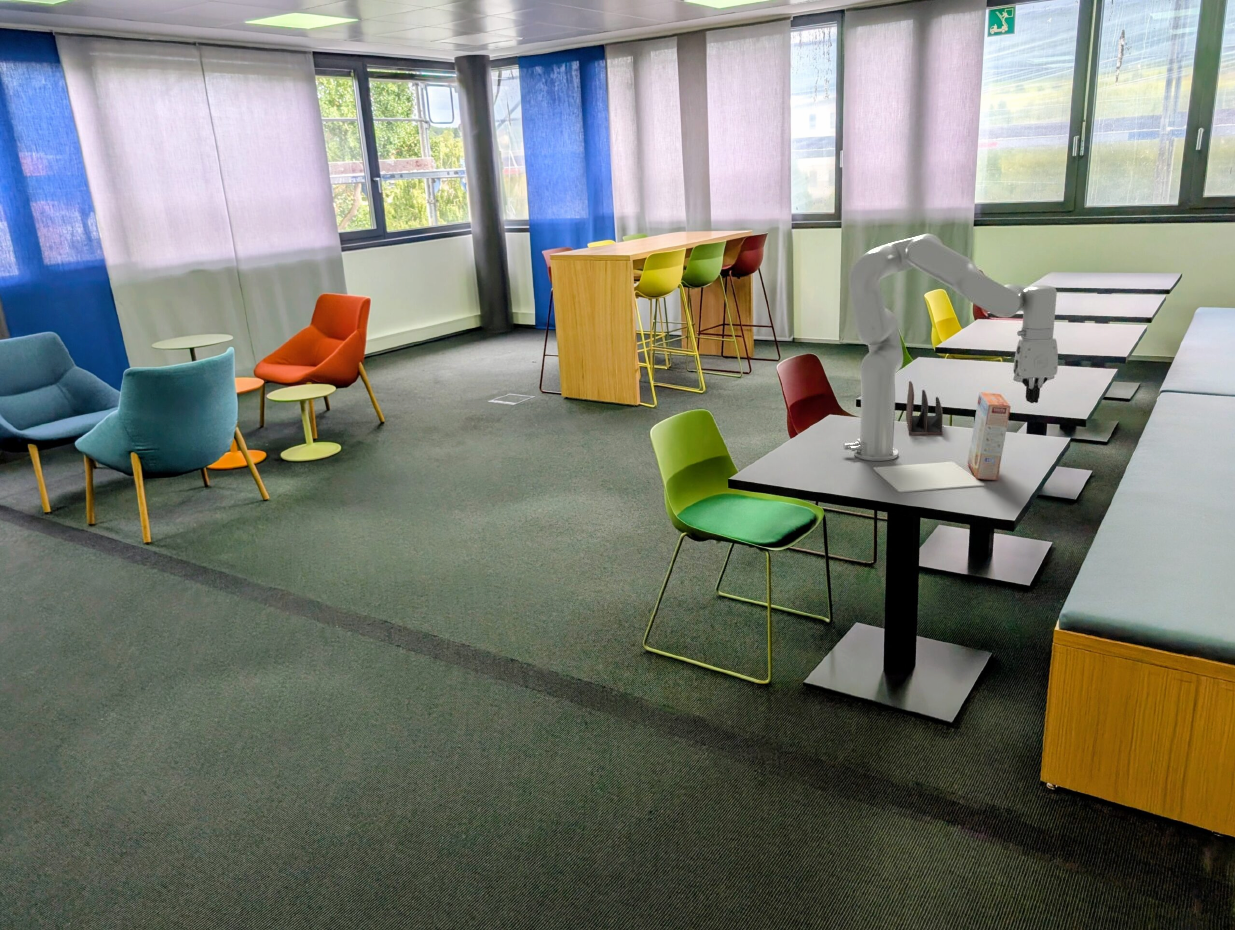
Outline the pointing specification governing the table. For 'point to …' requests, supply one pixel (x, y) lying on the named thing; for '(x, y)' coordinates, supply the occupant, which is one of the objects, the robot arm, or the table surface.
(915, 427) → the letter holder
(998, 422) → the cracker box
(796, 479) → the table surface
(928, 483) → the mat
